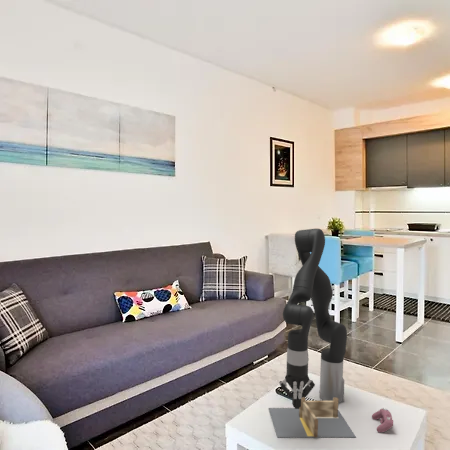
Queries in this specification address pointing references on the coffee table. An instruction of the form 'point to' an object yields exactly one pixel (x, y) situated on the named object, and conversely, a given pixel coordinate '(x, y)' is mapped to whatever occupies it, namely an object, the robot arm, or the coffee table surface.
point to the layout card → (297, 428)
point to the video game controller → (383, 419)
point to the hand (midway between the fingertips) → (296, 407)
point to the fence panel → (310, 419)
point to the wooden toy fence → (321, 408)
